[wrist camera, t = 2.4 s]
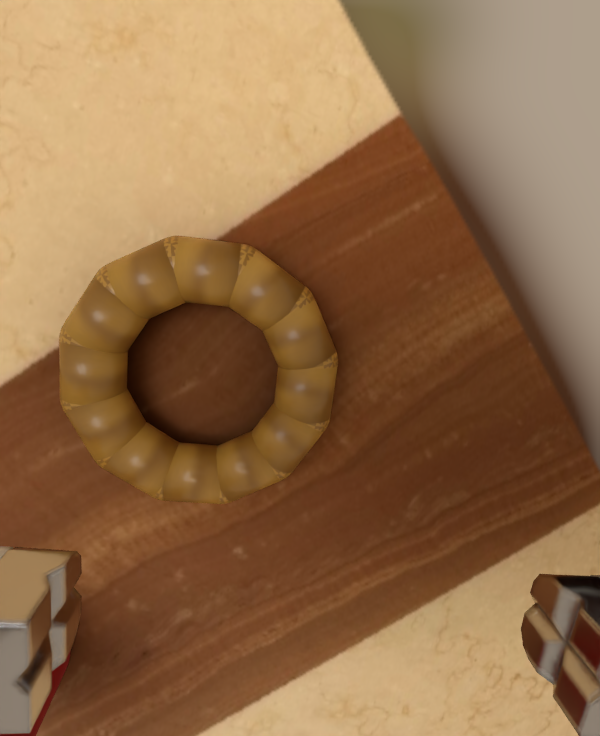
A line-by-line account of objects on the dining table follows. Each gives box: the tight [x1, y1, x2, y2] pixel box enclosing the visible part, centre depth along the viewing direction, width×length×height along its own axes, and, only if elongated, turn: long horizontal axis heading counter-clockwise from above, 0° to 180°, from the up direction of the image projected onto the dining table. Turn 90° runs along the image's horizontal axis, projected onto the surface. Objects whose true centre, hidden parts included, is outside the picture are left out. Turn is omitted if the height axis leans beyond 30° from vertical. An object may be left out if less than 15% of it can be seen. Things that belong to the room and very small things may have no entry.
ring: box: [59, 236, 338, 504], centre depth 19 cm, size 12×12×3 cm
